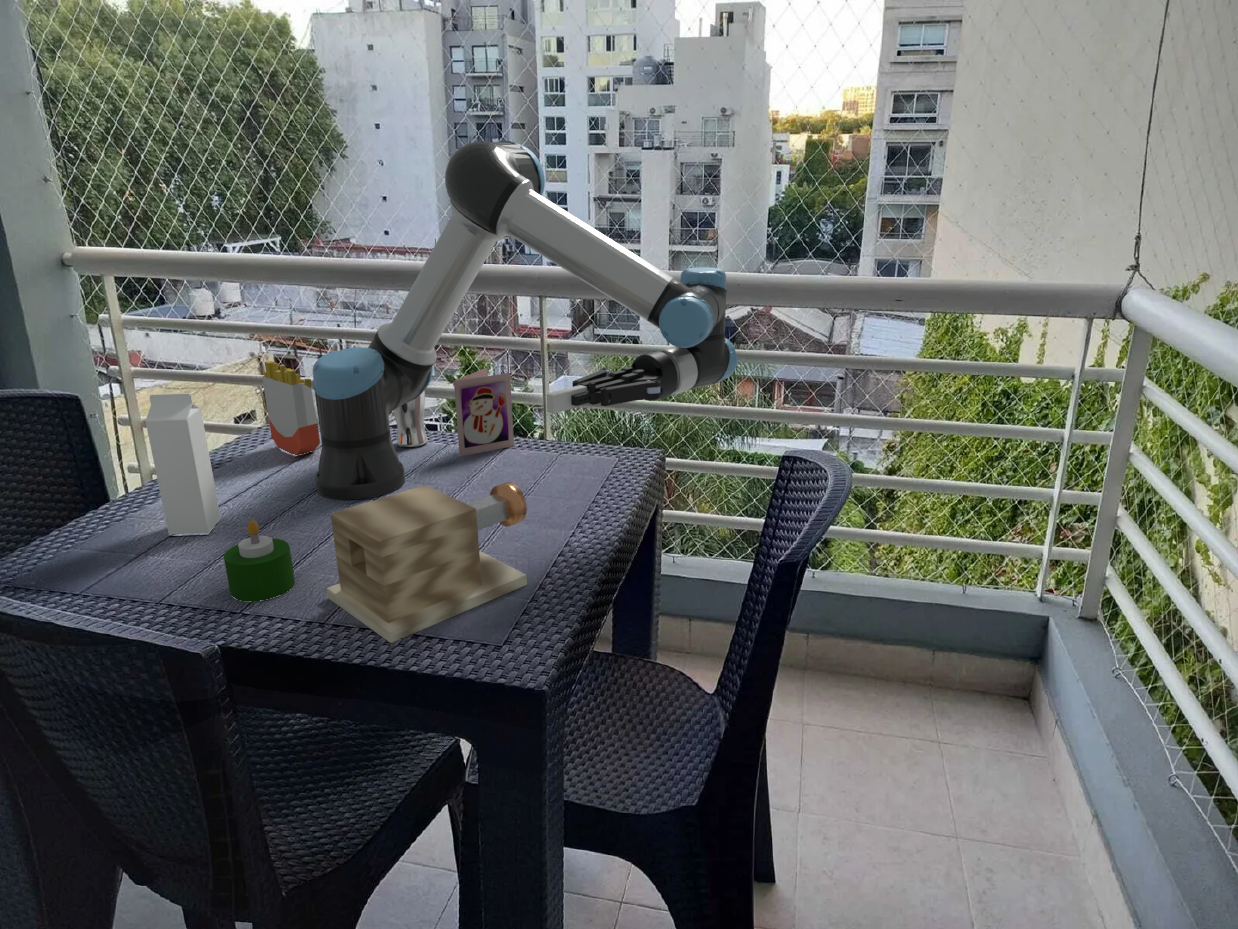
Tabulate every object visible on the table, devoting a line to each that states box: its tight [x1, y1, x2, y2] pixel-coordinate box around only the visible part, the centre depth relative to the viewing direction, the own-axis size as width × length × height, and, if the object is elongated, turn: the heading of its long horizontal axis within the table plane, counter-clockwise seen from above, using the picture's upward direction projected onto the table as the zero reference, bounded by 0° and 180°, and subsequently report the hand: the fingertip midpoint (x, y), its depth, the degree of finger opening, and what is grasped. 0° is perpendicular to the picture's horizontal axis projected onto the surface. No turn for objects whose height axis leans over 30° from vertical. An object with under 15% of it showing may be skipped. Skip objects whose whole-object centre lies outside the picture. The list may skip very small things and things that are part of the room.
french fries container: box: [261, 360, 321, 455], centre depth 170 cm, size 5×11×18 cm, turn 50°
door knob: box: [465, 481, 528, 531], centre depth 120 cm, size 16×6×6 cm, turn 134°
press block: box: [326, 484, 528, 644], centre depth 116 cm, size 21×16×12 cm
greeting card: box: [453, 367, 515, 457], centre depth 172 cm, size 11×7×15 cm, turn 120°
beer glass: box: [392, 389, 429, 448], centre depth 175 cm, size 7×7×15 cm
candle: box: [223, 519, 296, 602], centre depth 118 cm, size 8×8×10 cm
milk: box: [145, 393, 222, 535], centre depth 135 cm, size 6×6×22 cm
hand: (550, 403), depth 125 cm, fingers closed
